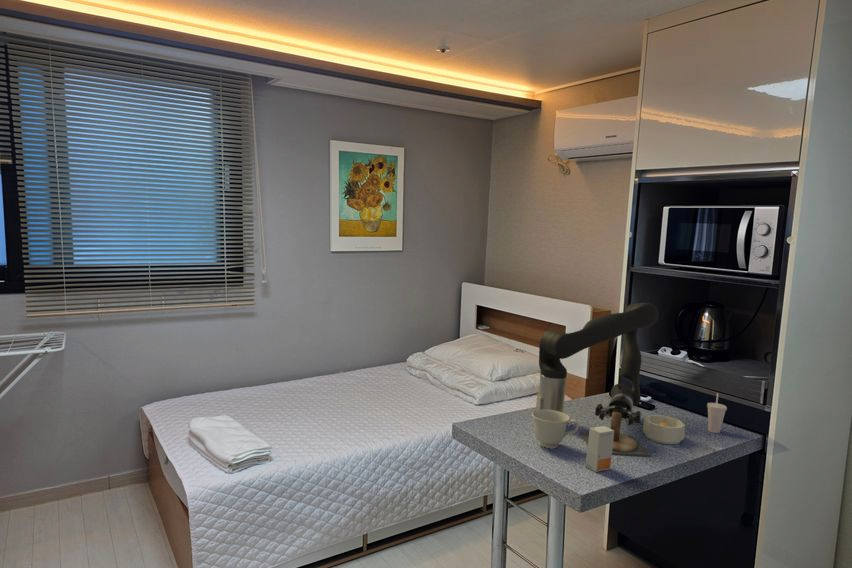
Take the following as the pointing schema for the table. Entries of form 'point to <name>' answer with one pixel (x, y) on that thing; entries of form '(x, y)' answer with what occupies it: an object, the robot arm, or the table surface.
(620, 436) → the lid
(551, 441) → the teacup
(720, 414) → the smoothie
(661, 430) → the bowl
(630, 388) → the robot arm
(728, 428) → the table surface
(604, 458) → the skincare box
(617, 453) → the mat
